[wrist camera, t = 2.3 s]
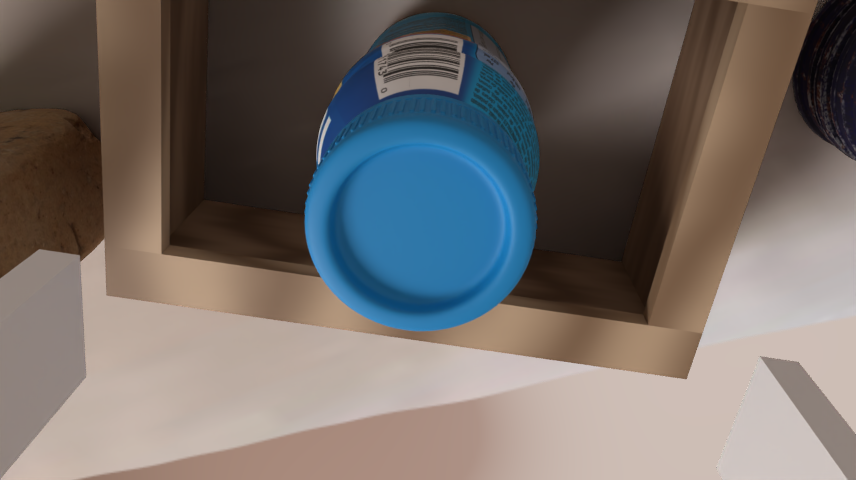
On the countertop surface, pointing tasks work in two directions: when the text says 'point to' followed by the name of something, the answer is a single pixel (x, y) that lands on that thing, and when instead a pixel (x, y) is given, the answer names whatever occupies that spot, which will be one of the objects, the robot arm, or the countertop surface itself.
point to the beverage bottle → (425, 178)
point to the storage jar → (829, 75)
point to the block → (48, 185)
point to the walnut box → (546, 271)
